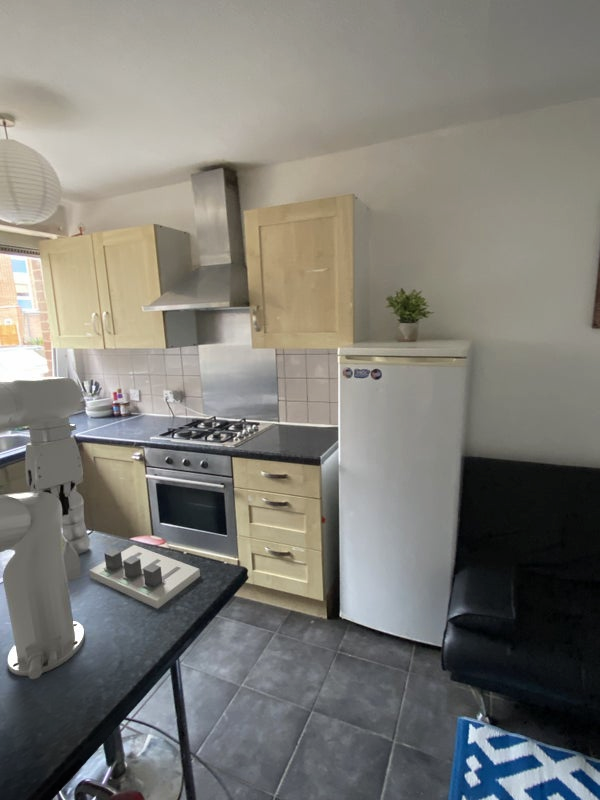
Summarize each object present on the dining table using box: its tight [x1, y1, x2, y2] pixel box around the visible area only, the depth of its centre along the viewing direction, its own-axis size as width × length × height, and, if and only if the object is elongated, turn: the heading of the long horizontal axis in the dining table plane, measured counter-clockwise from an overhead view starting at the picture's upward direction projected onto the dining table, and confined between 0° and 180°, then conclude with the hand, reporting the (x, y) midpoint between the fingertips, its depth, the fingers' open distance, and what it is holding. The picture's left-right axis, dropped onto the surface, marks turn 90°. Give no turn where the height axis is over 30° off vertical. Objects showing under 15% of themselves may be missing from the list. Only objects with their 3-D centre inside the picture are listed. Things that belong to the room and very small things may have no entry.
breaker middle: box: [122, 556, 144, 581], centre depth 96 cm, size 4×4×4 cm
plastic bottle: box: [62, 485, 91, 556], centre depth 110 cm, size 6×7×20 cm
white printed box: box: [62, 533, 82, 583], centre depth 101 cm, size 4×7×10 cm, turn 42°
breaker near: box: [142, 564, 165, 590], centre depth 93 cm, size 4×4×4 cm
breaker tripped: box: [103, 548, 124, 573], centre depth 100 cm, size 4×4×4 cm
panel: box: [89, 544, 201, 610], centre depth 100 cm, size 24×13×2 cm, turn 60°
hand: (61, 514), depth 91 cm, fingers closed
